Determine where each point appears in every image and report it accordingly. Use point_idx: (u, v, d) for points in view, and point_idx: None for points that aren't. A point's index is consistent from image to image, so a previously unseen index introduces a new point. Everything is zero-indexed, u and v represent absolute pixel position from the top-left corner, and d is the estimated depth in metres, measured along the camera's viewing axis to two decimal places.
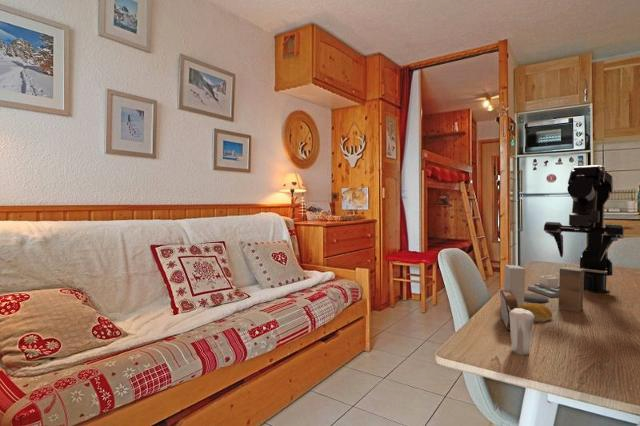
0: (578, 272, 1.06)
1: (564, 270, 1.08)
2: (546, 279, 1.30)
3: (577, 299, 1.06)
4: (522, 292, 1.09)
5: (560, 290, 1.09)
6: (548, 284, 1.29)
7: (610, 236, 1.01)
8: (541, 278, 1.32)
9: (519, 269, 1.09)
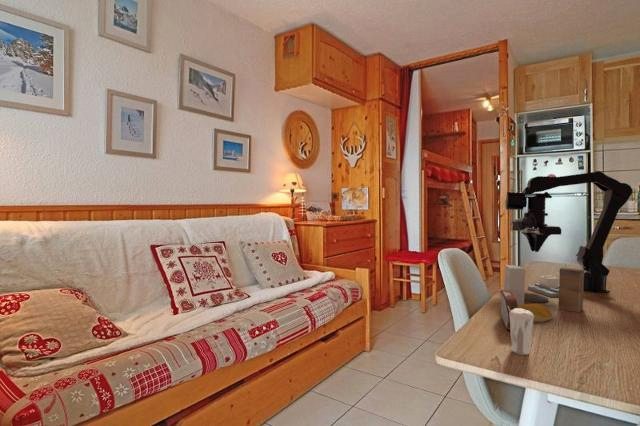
0: (578, 272, 1.06)
1: (564, 270, 1.08)
2: (546, 279, 1.30)
3: (577, 299, 1.06)
4: (522, 292, 1.09)
5: (560, 290, 1.09)
6: (548, 284, 1.29)
7: (534, 234, 1.35)
8: (541, 278, 1.32)
9: (519, 269, 1.09)
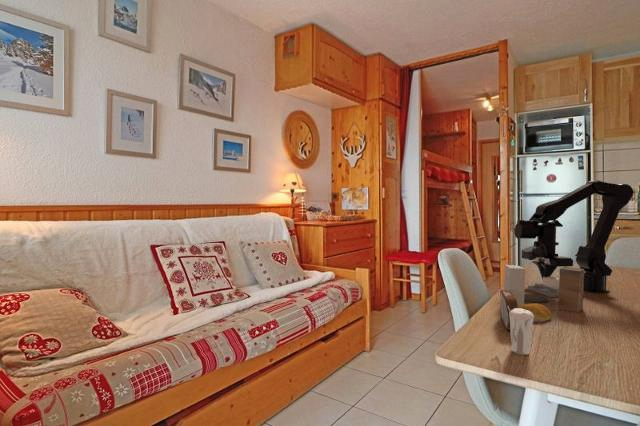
0: (578, 272, 1.06)
1: (564, 270, 1.08)
2: (549, 280, 1.28)
3: (577, 299, 1.06)
4: (522, 292, 1.09)
5: (560, 290, 1.09)
6: (551, 285, 1.28)
7: (543, 264, 1.30)
8: (544, 279, 1.31)
9: (519, 269, 1.09)
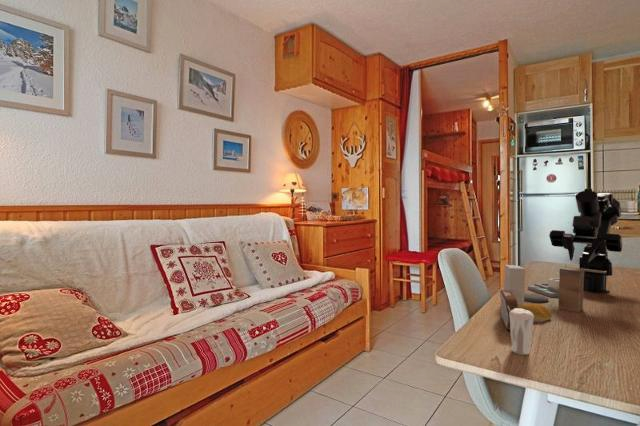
0: (578, 272, 1.06)
1: (564, 270, 1.08)
2: (555, 282, 1.26)
3: (577, 299, 1.06)
4: (522, 292, 1.09)
5: (560, 290, 1.09)
6: (557, 286, 1.25)
7: (599, 239, 1.13)
8: (549, 280, 1.28)
9: (519, 269, 1.09)
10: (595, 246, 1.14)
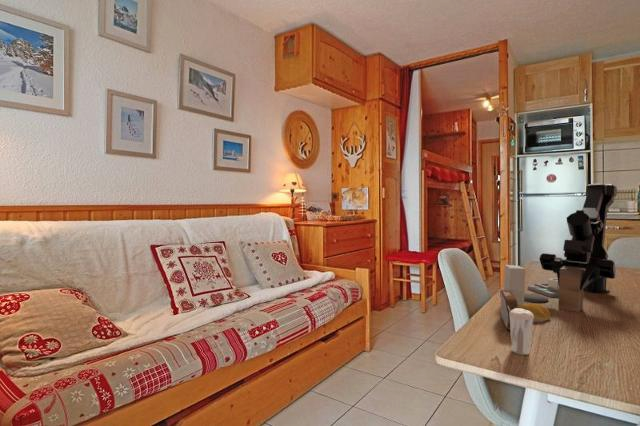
0: (578, 272, 1.06)
1: (564, 270, 1.08)
2: (555, 282, 1.26)
3: (577, 299, 1.06)
4: (522, 292, 1.09)
5: (560, 290, 1.09)
6: (557, 286, 1.25)
7: (593, 266, 1.07)
8: (549, 280, 1.28)
9: (519, 269, 1.09)
10: (589, 273, 1.07)
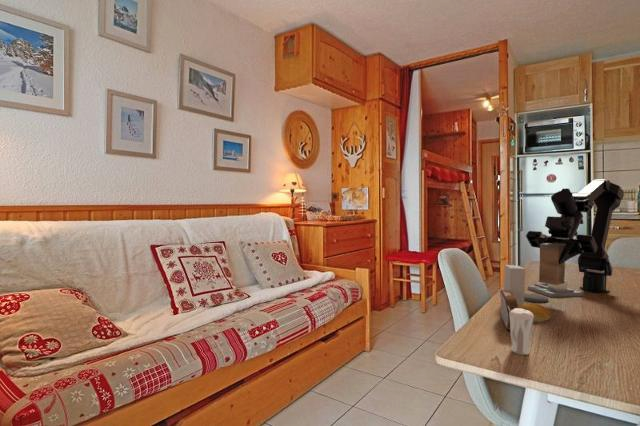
0: (556, 246, 1.10)
1: (544, 245, 1.13)
2: None
3: (555, 272, 1.11)
4: (522, 292, 1.09)
5: (540, 264, 1.14)
6: (557, 286, 1.25)
7: (572, 241, 1.10)
8: None
9: (519, 269, 1.09)
10: (568, 248, 1.11)
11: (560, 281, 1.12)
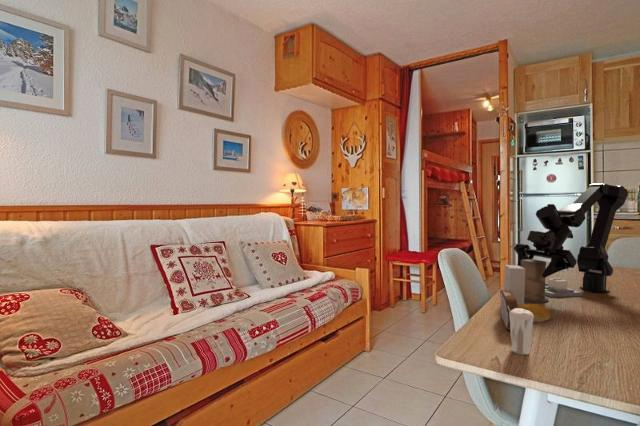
0: (533, 263, 1.17)
1: (524, 261, 1.20)
2: (555, 282, 1.26)
3: (533, 288, 1.17)
4: (522, 292, 1.09)
5: None
6: (557, 286, 1.25)
7: (556, 256, 1.14)
8: (549, 280, 1.28)
9: (519, 269, 1.09)
10: (553, 262, 1.14)
11: (539, 296, 1.18)
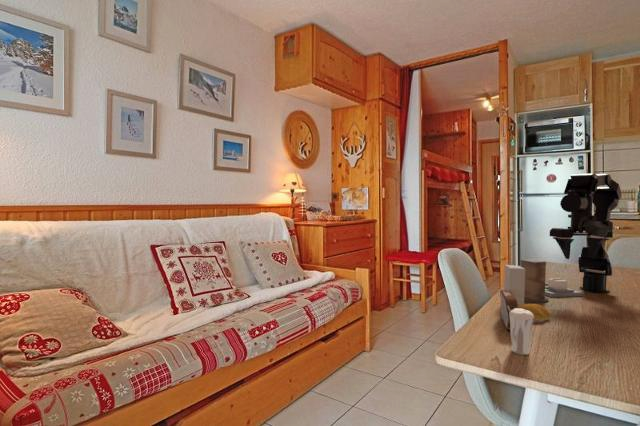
0: (533, 263, 1.17)
1: (524, 261, 1.20)
2: (555, 282, 1.26)
3: (533, 288, 1.17)
4: (522, 292, 1.09)
5: None
6: (557, 286, 1.25)
7: (606, 239, 1.20)
8: (549, 280, 1.28)
9: (519, 269, 1.09)
10: (600, 244, 1.21)
11: (539, 296, 1.18)
